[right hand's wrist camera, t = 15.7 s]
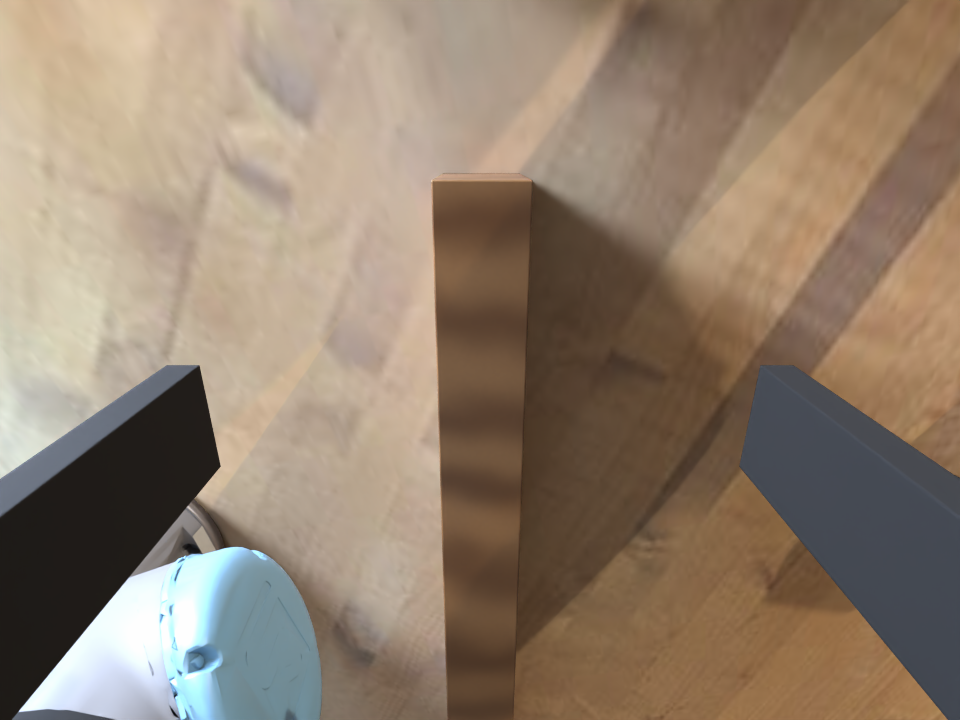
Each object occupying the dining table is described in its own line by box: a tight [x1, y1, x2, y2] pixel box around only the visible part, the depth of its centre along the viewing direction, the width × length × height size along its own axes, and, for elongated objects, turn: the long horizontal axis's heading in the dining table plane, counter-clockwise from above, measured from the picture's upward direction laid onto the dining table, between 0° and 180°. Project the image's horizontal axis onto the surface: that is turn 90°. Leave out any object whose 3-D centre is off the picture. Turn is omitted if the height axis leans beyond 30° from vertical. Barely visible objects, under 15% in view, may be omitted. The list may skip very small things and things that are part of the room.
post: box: [431, 173, 533, 720], centre depth 43 cm, size 73×5×9 cm, turn 0°
